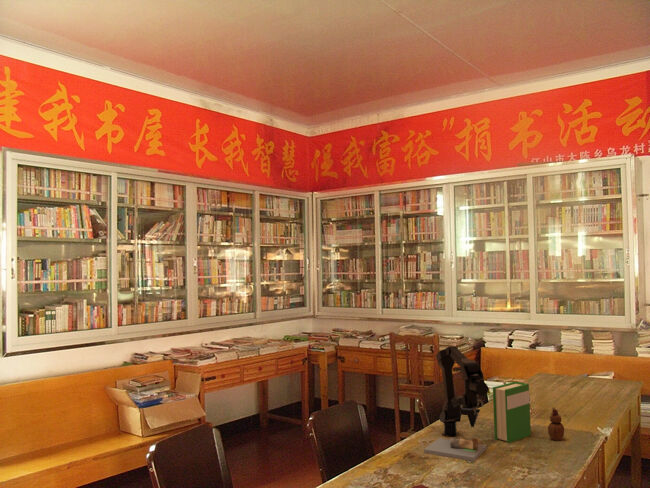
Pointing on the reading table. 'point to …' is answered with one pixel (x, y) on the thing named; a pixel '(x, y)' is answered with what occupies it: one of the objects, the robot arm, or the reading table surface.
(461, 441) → the lever
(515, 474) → the reading table surface
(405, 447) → the reading table surface
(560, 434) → the wooden figurine
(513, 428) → the hardback book
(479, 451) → the dial plate
